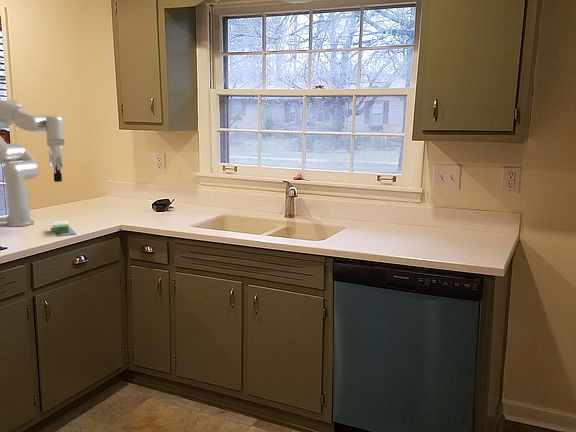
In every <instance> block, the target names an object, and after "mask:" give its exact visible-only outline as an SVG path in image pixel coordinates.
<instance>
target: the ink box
mask: <svg viewBox="0 0 576 432" xmlns="http://www.w3.org/2000/svg"><path fill="white" fill-rule="evenodd" d="M52 227H53V230H52V234H55V233H66V232H69V227H70V225H69V221H68V220H57V221H52Z"/></svg>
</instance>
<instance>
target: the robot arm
mask: <svg viewBox="0 0 576 432" xmlns="http://www.w3.org/2000/svg"><path fill="white" fill-rule="evenodd" d="M13 124H14V125H15V126H16V128H18V129H22V130H24V131H27V132H33V133H36V132H46V146H47V147H49V148H48V149H49V150H48V151H49V153H48V155H49V166H50V167H51V168H53V181H54V182H55V183H59V182H63V178H62V177H63V176H62V168H63V167H64V156H63V155H64V154H63V147H64V146H65V135H64V134H65V131H64V130H65V129H64V118H63V117H62V116H59V115H49V114H48V115H47V114H46V115H43V114H42V115H41V114H33V115H32V114H28V112H27V110H26V108H24V107H23V105H22V104H21V103H20V102H19V101H16V100H4V99H3V100H0V130H1V129H3V130H4V129H6V128H7V129H8V128H9V127H11V126H12V125H13ZM0 164H3V167H2V175H3V179H4V181H5V187H6V195H7V197H6V198H7V207H8V208H7V209H8V215H7V216H6V217H0V223H1V222H2V223H5V225H6V226H7V227H13V228H14V227H26V226H32V225H34V224H35V221H34V220H33V219H31V209H30V197H29V187H28V186H27V184H26V182H25V180H31V179H35V178H37V177H38V176H39V175H40V167H39V166H40V165H39V164H38V163H37V161H36V160H35V158H34V157H33V156H32V154H31V153H30V152H29V150H28V149H27V148H26V147H25V146H24V145H22V144H19V143H10V144H9V143H7V142H6V141H5V140H4V138H3V137H2V136H1V135H0Z"/></svg>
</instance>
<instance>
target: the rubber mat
mask: <svg viewBox="0 0 576 432" xmlns="http://www.w3.org/2000/svg"><path fill="white" fill-rule="evenodd" d="M50 229H51V230H52V231H53V226H52V227H50ZM54 234H55V235H56V236H57V237H65V236H75V235H77V233H76V231H74V230H73V228H71V227H70V226H69V232H66V233H54Z"/></svg>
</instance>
